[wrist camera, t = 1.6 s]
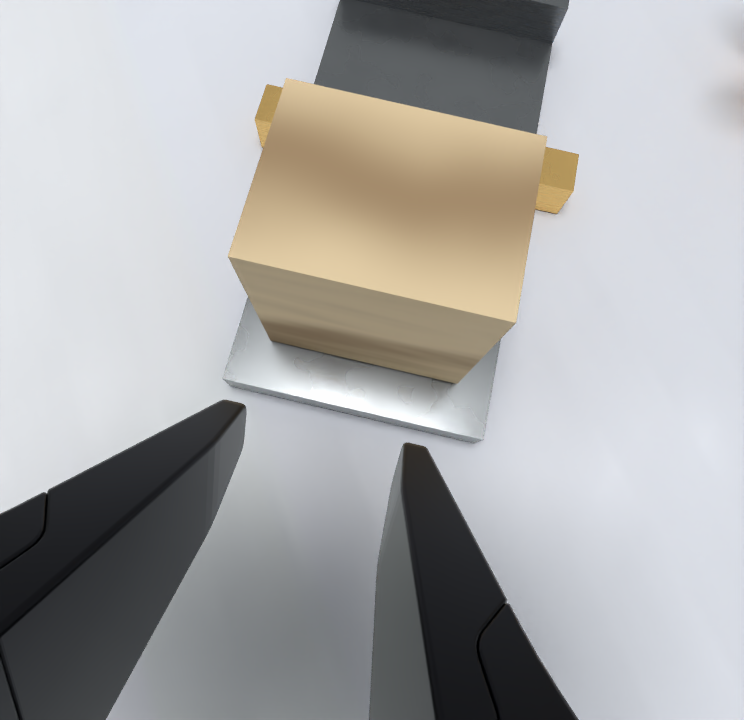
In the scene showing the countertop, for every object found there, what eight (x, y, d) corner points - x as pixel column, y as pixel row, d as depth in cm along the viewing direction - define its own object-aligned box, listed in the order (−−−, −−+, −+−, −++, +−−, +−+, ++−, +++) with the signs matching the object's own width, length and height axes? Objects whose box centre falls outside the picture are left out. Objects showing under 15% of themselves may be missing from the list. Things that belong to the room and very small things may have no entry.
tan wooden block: (457, 383, 22) (516, 322, 14) (270, 340, 22) (228, 256, 14) (482, 255, 23) (547, 136, 16) (306, 215, 24) (286, 77, 16)
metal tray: (519, 453, 23) (548, 446, 20) (186, 375, 23) (158, 355, 20) (581, 52, 29) (612, -7, 25) (312, -7, 29) (307, -74, 25)
